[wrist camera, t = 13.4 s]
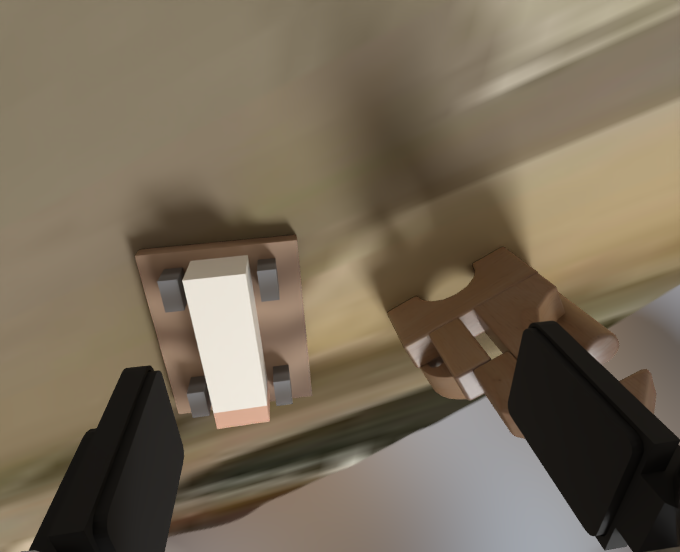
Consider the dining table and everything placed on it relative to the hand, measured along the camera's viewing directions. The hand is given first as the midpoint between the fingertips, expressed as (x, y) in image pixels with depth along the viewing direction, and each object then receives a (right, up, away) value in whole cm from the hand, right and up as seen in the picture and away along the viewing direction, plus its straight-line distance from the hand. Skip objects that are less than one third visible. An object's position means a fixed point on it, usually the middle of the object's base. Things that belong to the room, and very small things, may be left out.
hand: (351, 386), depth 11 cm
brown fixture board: (-11, -2, +32) cm, 34 cm away
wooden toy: (+13, +1, +35) cm, 37 cm away
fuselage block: (-11, -3, +30) cm, 32 cm away
